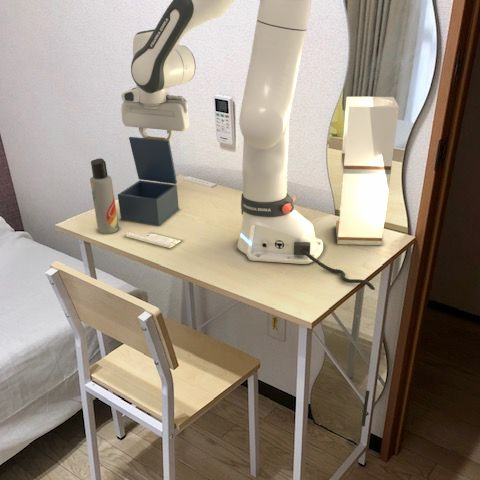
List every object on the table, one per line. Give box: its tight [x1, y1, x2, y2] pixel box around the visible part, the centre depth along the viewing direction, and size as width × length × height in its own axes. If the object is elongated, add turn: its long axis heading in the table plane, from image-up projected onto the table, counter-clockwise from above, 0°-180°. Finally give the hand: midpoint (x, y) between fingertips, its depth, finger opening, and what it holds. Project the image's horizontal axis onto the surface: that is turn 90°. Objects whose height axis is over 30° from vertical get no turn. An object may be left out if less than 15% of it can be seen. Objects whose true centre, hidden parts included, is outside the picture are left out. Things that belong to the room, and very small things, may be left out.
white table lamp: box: [335, 96, 400, 246], centre depth 148 cm, size 11×11×35 cm
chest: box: [117, 179, 180, 227], centre depth 171 cm, size 13×13×8 cm
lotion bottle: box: [89, 157, 119, 235], centre depth 159 cm, size 6×6×20 cm
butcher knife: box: [125, 231, 181, 249], centre depth 158 cm, size 5×15×1 cm, turn 59°
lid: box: [128, 135, 178, 185], centre depth 170 cm, size 13×13×5 cm
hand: (157, 143), depth 169 cm, fingers closed on lid, 5 cm apart
